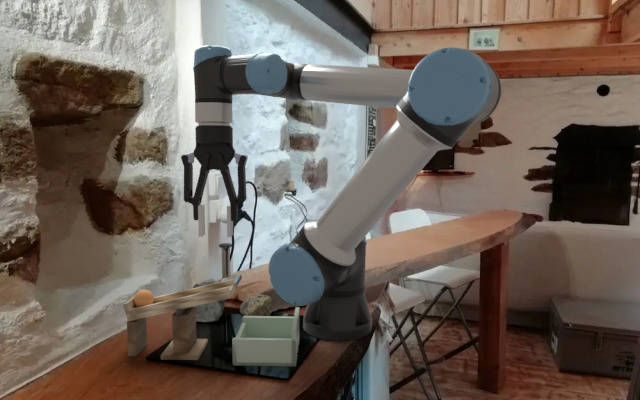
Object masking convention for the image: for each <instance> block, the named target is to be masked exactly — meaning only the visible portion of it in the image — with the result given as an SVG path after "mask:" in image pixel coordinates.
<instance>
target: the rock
mask: <svg viewBox="0 0 640 400" xmlns="http://www.w3.org/2000/svg"><path fill="white" fill-rule="evenodd" d="M239 312H240V314H241V315H242V316H271V314H272V312H274V305H273V300H272V298H271V297H270V295H266V294H262V293H257V294H254V295H251V296H249V297H248V296H247V298H246V299H244V300H243V301H242V303H241V304H240V306H239Z"/></svg>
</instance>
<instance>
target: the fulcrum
mask: <svg viewBox="0 0 640 400" xmlns="http://www.w3.org/2000/svg"><path fill="white" fill-rule="evenodd" d="M175 312H176V311H174V313H173V314H172V315H171V323H172V328H171V329H172V340H171V341H170V342H169V344H168V345H167V347H165V349H164V350H163V352H162V353H161V354H160V360H167V361H170V360H171V361H173V360H174V361H175V360H176V361H177V360H178V361H182V360H183V361H199V359H200V357H201V355H203V352H204V350H205V349H206V347H207V345H208V343H209V339H208V338H197V322H196V306H193V307H189V308H186V310H185V311H184V312H183V313H182V314H181V316H179V317H177V316H176V315H175ZM147 328H148V327H147V317H145V318H141V319H137V320H132V321H128V320H127V321H126V332H127V334H126V335H127V336H126V337H127V353H128V354H127V356H128V357H138V355H139V354H140V353H141V352H142V351H143V350H144V349H145V347H147V345H148V333H147V331H148V330H147Z"/></svg>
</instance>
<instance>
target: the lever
mask: <svg viewBox="0 0 640 400" xmlns="http://www.w3.org/2000/svg"><path fill="white" fill-rule="evenodd" d="M242 279H243V277H242V274H237V275H233V276H230V277H229V276H228V277H224V278H222V280H221V281H219V282H218V283H214V284H209V285H205V286H201V287H197V288H193V287H192V288H188V289H185V290H181V291H175V292H172V293H167V294H163V295H158V296H153V297H154V300H153V303H152V304H151V305H146V306H142V307H137V306H136V305H135V303H134V297H135V295H136V293H135V294H134V295H132V296H131V297H130V298H129V299H128V300H127V301H125V302H124V303H122V307H123V310H124V313H125V316H126V319H127V321H132V320H137V319H141V318H145V317H146V318H149V317H154V316H157V315H163V314H166V313H170V312H174V313H175V315H176V316H177V317H179V316H181V314H182V313H183V312H184V311H185V310H186V308H189V307H193V306H197V305H202V304H206V303H210V302H215V301H219V300H223V299H231V298H232V296H233V295H234V293H235V291H236V290H237V288H238V286H239V283H240V282H241V280H242ZM175 311H176V312H175Z"/></svg>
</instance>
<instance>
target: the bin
mask: <svg viewBox="0 0 640 400" xmlns="http://www.w3.org/2000/svg"><path fill="white" fill-rule="evenodd" d="M300 307H301V306H296V307H295V309H294V313H293V315H294V316H282V315H281V316H279V315H277V316H274V315H273V316H271V315H270V316H245V315H242V323H241V324H240V327H239V329H238V331H237V334H236V336H235V337H232V341H231V342H232V343H231V346H232V347H231V348H232V349H231V351H232V356H231V357H232V366H239V367H240V366H245V367H246V366H248V367H251V366H252V367H256V366H257V367H296V366H297V360H298V354H297V353H299V347H300V346H299V345H300V321H301V320H300V314H301V313H300V312H301V311H300ZM298 346H299V347H298Z"/></svg>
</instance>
